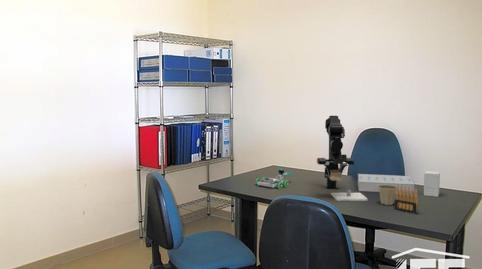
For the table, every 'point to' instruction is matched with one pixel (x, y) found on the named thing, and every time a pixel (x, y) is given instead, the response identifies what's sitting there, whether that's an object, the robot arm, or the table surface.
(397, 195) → the ammunition clip
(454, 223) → the table surface
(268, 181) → the robot kit
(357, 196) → the jaw base
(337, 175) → the jaw block
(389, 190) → the flower pot
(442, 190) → the table surface
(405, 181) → the warehouse
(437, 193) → the supplement box
